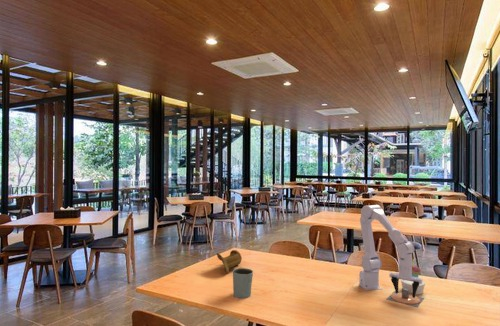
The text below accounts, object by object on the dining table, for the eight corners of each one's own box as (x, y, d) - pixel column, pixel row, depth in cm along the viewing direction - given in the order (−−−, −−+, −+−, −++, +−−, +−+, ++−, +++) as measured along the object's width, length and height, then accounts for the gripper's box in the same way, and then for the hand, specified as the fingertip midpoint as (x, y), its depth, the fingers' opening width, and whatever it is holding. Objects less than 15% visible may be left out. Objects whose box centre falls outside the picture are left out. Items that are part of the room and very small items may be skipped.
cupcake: (422, 280, 188) (423, 259, 188) (406, 279, 190) (407, 258, 190) (418, 276, 196) (418, 255, 197) (403, 274, 198) (403, 254, 198)
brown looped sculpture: (202, 257, 204) (228, 245, 220) (209, 277, 202) (234, 264, 218) (220, 254, 191) (246, 242, 207) (227, 275, 190) (253, 262, 205)
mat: (417, 308, 150) (417, 307, 150) (385, 300, 159) (385, 299, 159) (424, 299, 161) (424, 298, 161) (394, 291, 170) (394, 291, 170)
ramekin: (405, 286, 179) (405, 276, 179) (427, 292, 171) (427, 281, 171) (397, 291, 171) (397, 281, 171) (420, 297, 163) (420, 287, 163)
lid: (399, 304, 153) (399, 294, 153) (385, 294, 166) (385, 284, 166) (426, 303, 154) (426, 294, 154) (410, 293, 167) (410, 284, 167)
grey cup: (229, 293, 165) (229, 269, 166) (247, 290, 169) (248, 267, 170) (236, 300, 156) (237, 275, 156) (256, 297, 160) (256, 272, 160)
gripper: (423, 268, 159) (423, 296, 159) (392, 262, 168) (392, 289, 168) (420, 271, 153) (420, 300, 153) (388, 265, 163) (387, 292, 162)
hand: (405, 294), depth 160 cm, fingers open, 7 cm apart
